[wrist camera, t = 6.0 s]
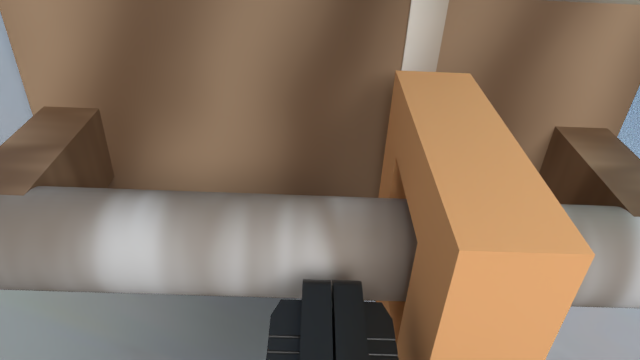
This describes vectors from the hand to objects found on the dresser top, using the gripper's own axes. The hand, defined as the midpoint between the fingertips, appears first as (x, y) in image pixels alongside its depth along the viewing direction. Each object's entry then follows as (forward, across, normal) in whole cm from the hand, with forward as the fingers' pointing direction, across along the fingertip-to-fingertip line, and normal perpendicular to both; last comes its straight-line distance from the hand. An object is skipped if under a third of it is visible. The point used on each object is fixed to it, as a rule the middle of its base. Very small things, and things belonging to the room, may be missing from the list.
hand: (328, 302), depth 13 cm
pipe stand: (+9, 0, 0) cm, 9 cm away
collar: (+6, -3, 0) cm, 7 cm away
